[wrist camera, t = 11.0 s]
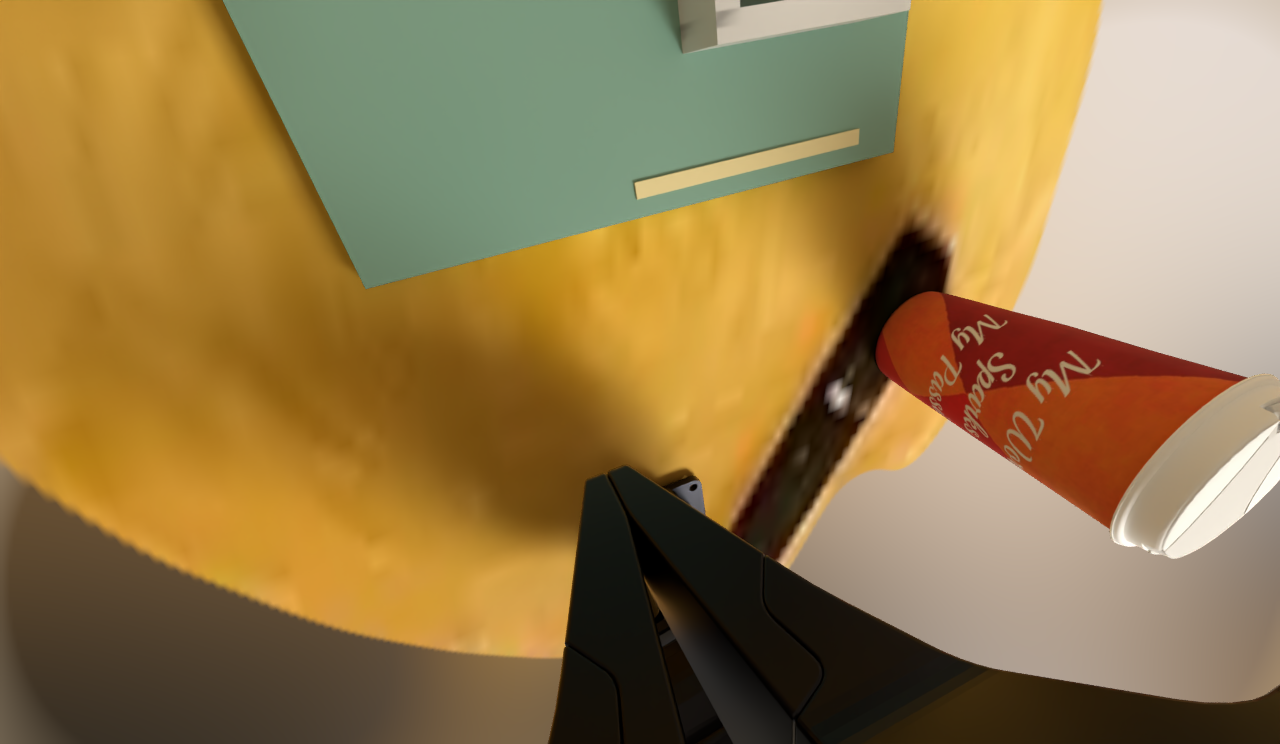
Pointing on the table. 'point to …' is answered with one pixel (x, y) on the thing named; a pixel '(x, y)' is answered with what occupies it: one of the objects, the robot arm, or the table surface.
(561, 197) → the board
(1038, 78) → the table surface
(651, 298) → the table surface
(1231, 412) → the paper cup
